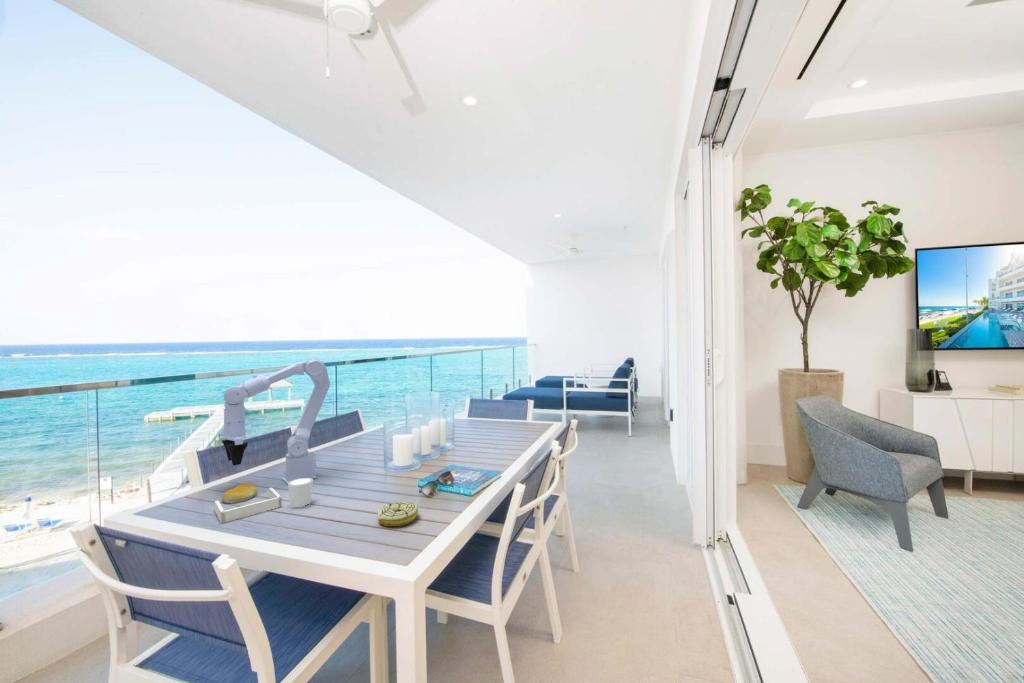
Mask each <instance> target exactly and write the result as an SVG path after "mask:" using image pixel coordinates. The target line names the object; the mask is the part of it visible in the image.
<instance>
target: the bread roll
mask: <svg viewBox="0 0 1024 683" xmlns="http://www.w3.org/2000/svg"><path fill="white" fill-rule="evenodd" d="M257 495H258V488H257V487H256V486H255V485H253V484H250V483H242V484H239V485H237V486H235V487H234V488H231V489H228V490H226V491H225V492H224V493H223V495H222V497H221V498H222V499H221V500H222V502H224V503H225V504H229V503H230V504H237V502H238V503H242V501H243V502H246V501H249V500H250V499H252V498H255V497H256V496H257ZM248 499H249V500H248Z"/></svg>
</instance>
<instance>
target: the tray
mask: <svg viewBox="0 0 1024 683" xmlns="http://www.w3.org/2000/svg"><path fill="white" fill-rule="evenodd" d="M269 497H270V498H269ZM282 498H283V496H282V495H280V494H279V493H278V492H277V491H276V490H275V489H274V488H273V487H269V488H268V499H265V500H262V501H259V502H258V501H257V502H253V503H249V504H245V505H242V506H238V507H235V508H231V509H226V510H225V509H224V508H223V506H222V504H221V502H220V501H219V500H215V501H214V512H215V514H217V515H216V517H217V518H218V520H219V522H220V524H224V523H228V522H232V521H235V520H238V519H243V518H247V517H250V515H251V516H253V515H258V514H261V513H260V512H262V513H264V512H263V511H265V512H268V511H267V510H269V511H272V510H271V509H273V510H276V509H279V508H278V507H280V508H282V507H283V506H282V504H283V502H282V501H283V499H282ZM275 508H276V509H275ZM257 513H258V514H257Z"/></svg>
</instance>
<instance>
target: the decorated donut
mask: <svg viewBox="0 0 1024 683" xmlns="http://www.w3.org/2000/svg"><path fill="white" fill-rule="evenodd" d="M418 514H419V508H418V504H416V503H414V502H413V501H396V502H391V503H389V504H387V505H384V506H383V507H382V508H380V509H379V510H378V511H377V520H378V524H380V525H382V526H384V525H385V526H384V527H389V526H399V527H402V525H403V526H406V525H405V524H407V525H408V523H409V524H411V523H412V522H414V521H415V520H416V518H417V516H418ZM410 522H411V523H410Z"/></svg>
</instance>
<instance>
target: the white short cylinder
mask: <svg viewBox="0 0 1024 683" xmlns="http://www.w3.org/2000/svg"><path fill="white" fill-rule="evenodd" d="M313 482H314V479H312V478H299V479H295V480H292V481H290V482H289V483H288V484H287V488H288V490H287V492H288V498H289V499H288V500H289V507H290V506H291V507H300V508H303V507H302V506H304V507H306V506H305V505H307V504H309V503H310V502H312V492H313V484H314V483H313ZM310 504H311V503H310ZM310 504H309V505H310ZM307 506H308V505H307ZM291 507H290V508H291Z"/></svg>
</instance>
